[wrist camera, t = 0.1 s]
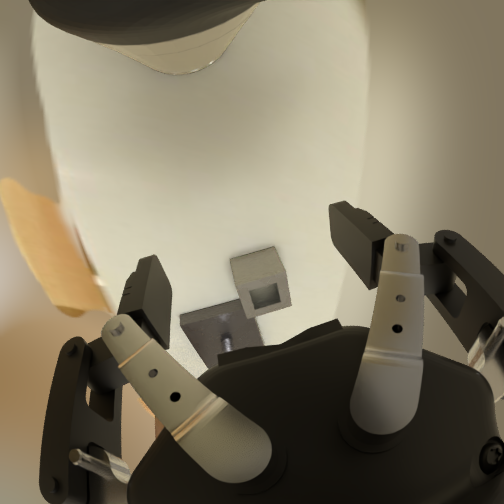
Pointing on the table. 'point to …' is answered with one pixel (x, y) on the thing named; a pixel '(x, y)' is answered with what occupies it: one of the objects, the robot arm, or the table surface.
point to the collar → (261, 282)
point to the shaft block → (220, 330)
